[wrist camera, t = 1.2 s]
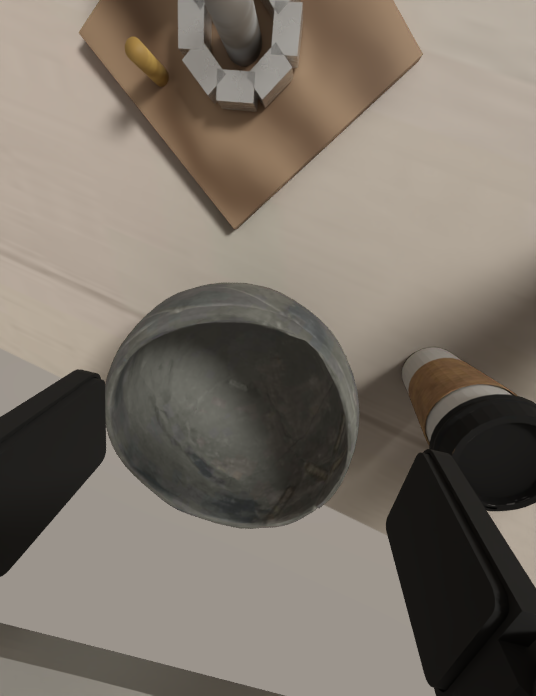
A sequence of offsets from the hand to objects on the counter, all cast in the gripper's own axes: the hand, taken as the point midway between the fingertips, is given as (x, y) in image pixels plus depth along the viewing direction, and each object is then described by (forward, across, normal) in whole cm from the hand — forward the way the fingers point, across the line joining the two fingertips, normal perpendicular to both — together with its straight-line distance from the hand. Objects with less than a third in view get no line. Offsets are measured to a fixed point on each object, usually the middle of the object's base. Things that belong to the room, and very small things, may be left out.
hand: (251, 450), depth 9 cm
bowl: (+26, +2, +9) cm, 28 cm away
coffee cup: (+26, -17, +6) cm, 32 cm away
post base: (+26, +8, -19) cm, 33 cm away
